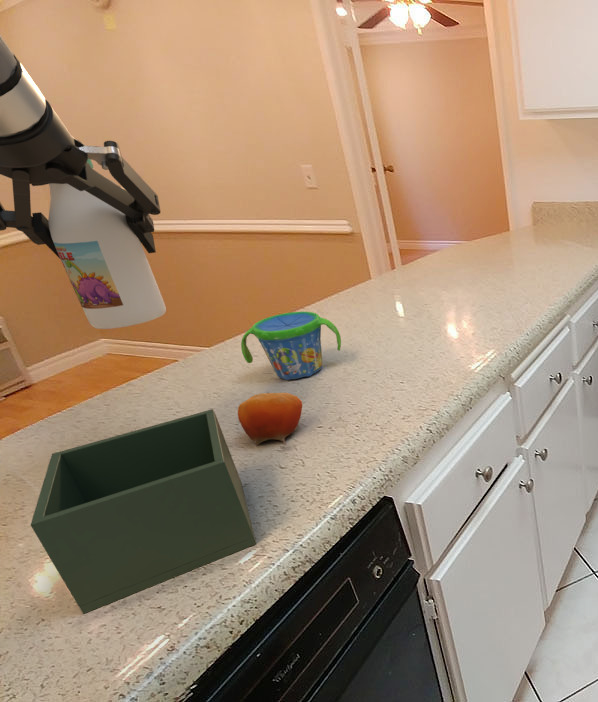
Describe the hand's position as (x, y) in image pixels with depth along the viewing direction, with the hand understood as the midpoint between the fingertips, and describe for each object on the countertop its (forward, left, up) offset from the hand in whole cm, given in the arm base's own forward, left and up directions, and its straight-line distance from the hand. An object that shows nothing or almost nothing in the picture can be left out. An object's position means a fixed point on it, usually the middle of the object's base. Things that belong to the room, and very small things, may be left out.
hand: (110, 248), depth 71 cm
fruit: (+7, +11, -29) cm, 32 cm away
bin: (+25, -2, -29) cm, 38 cm away
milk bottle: (+3, -1, -9) cm, 9 cm away
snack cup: (-15, +18, -29) cm, 37 cm away
